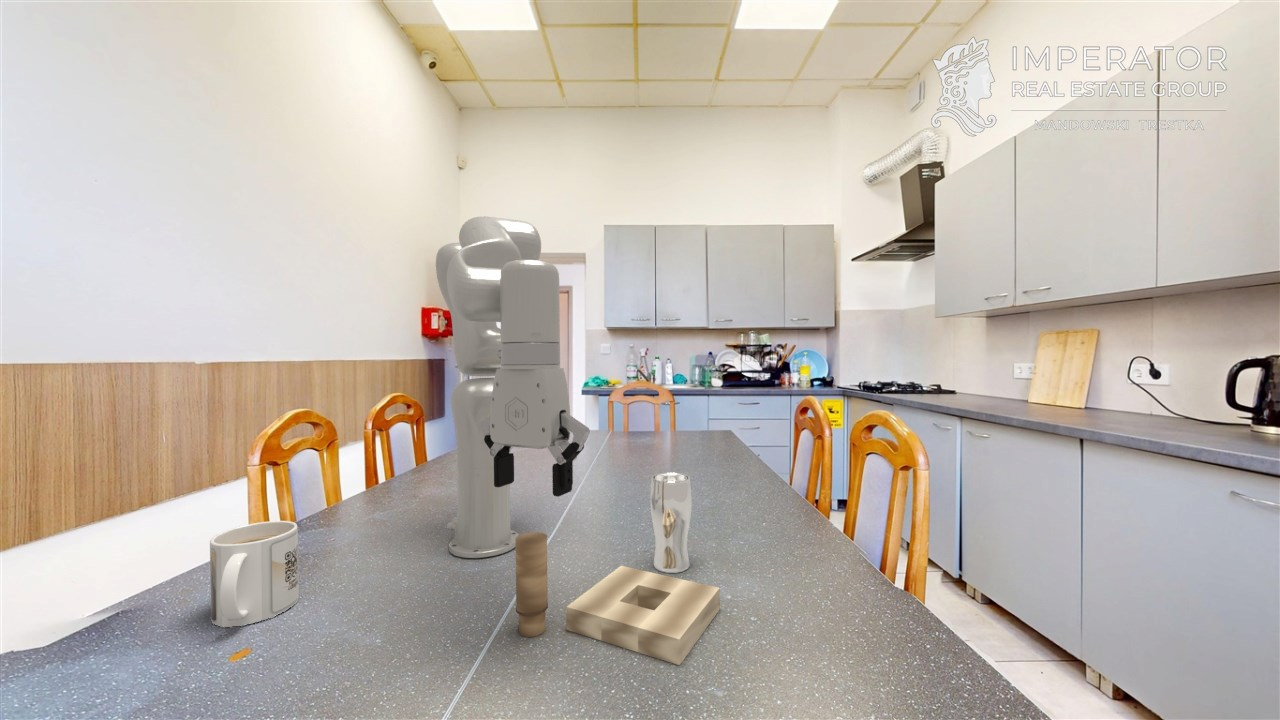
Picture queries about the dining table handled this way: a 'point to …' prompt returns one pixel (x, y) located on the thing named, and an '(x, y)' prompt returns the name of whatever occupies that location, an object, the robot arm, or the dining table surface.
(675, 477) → the beer glass
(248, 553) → the mug
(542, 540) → the peg
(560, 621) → the dining table surface
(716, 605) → the board
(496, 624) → the dining table surface
